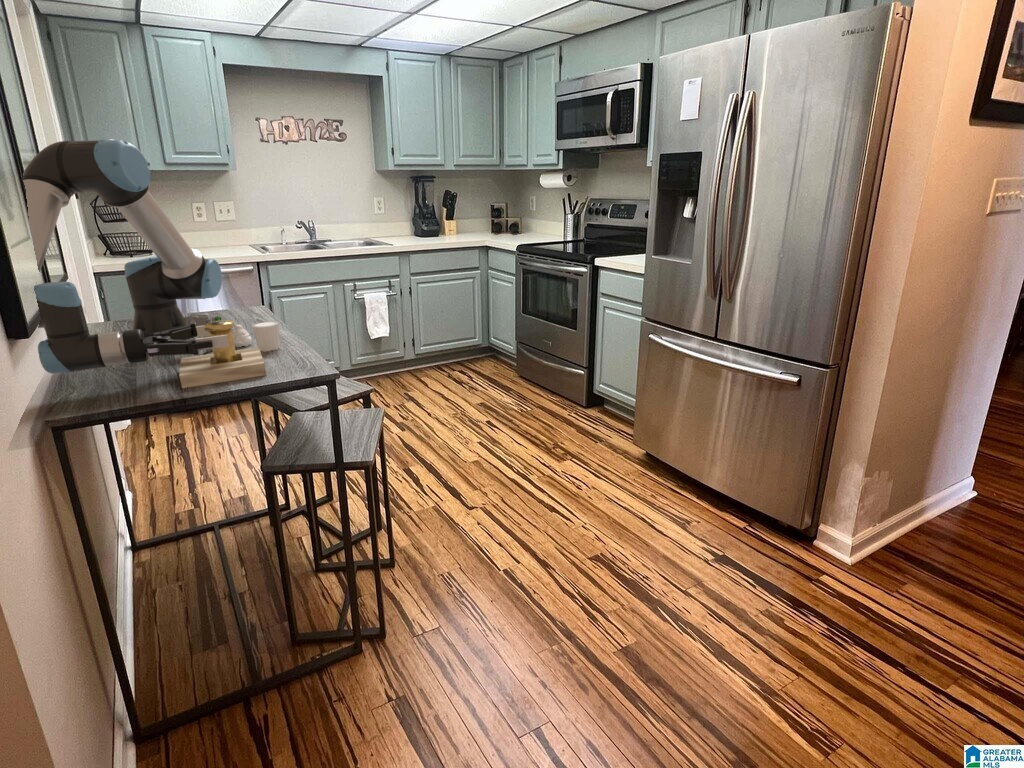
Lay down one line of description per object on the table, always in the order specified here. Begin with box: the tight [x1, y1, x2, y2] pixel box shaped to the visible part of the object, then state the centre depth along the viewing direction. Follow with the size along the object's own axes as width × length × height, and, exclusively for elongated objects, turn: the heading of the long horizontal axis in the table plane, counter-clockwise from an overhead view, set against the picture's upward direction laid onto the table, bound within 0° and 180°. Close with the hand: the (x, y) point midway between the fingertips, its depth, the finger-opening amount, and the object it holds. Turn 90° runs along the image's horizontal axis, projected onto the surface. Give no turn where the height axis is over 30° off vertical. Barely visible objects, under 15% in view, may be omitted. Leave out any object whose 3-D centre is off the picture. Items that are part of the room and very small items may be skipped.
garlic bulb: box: [232, 324, 253, 348], centre depth 169 cm, size 6×6×5 cm
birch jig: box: [178, 346, 267, 389], centre depth 145 cm, size 16×18×3 cm
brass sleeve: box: [204, 319, 238, 364], centre depth 145 cm, size 6×6×12 cm
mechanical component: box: [184, 314, 222, 353], centre depth 162 cm, size 3×10×10 cm, turn 79°
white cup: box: [251, 321, 281, 352], centre depth 164 cm, size 7×7×7 cm
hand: (227, 334), depth 144 cm, fingers open, 13 cm apart
